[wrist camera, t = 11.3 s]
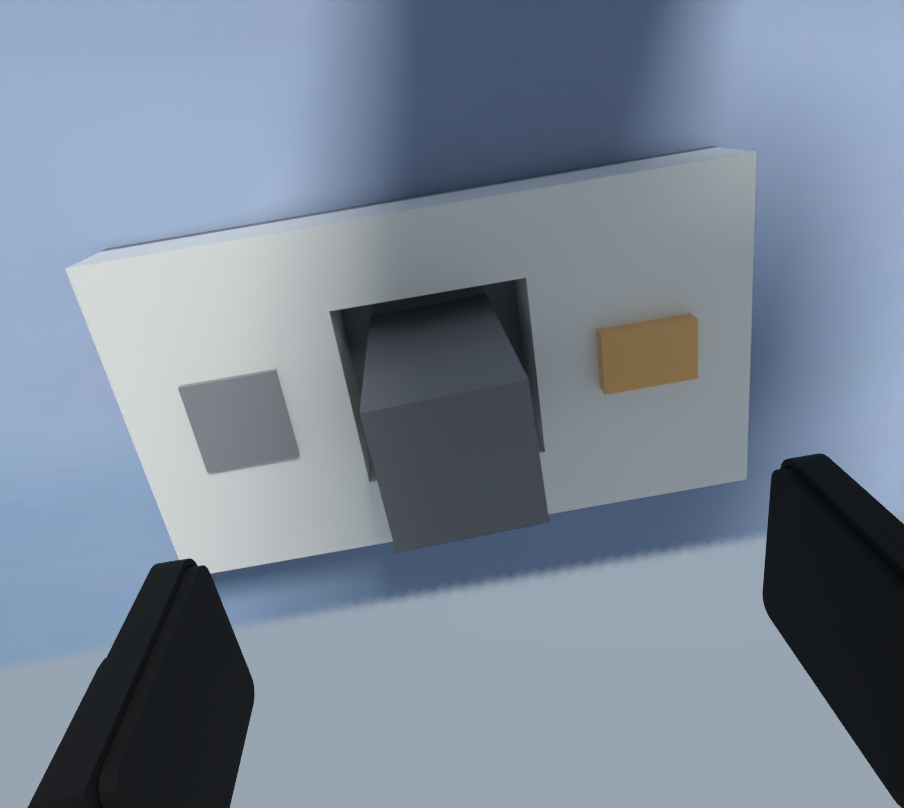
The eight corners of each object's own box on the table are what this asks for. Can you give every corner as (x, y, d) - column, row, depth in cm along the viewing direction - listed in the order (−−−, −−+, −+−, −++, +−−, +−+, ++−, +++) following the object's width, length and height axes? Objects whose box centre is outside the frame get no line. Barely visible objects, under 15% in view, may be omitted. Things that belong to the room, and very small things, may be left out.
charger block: (485, 293, 23) (528, 379, 16) (502, 399, 25) (549, 522, 17) (369, 316, 23) (359, 413, 16) (395, 421, 25) (396, 552, 17)
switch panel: (711, 146, 22) (767, 152, 19) (710, 441, 27) (754, 488, 23) (106, 248, 22) (55, 273, 19) (207, 528, 26) (181, 589, 23)
